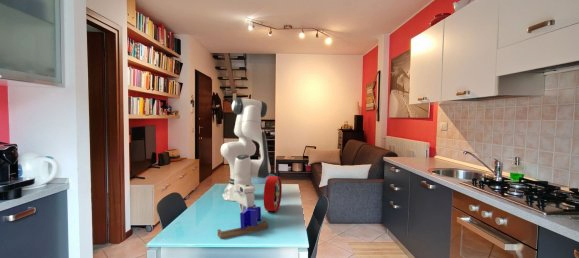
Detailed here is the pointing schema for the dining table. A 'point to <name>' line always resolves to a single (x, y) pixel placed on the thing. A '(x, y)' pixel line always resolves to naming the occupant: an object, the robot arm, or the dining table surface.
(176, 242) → the dining table surface
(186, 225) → the dining table surface
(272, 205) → the red hockey puck
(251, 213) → the mounting bracket
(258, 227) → the handle
